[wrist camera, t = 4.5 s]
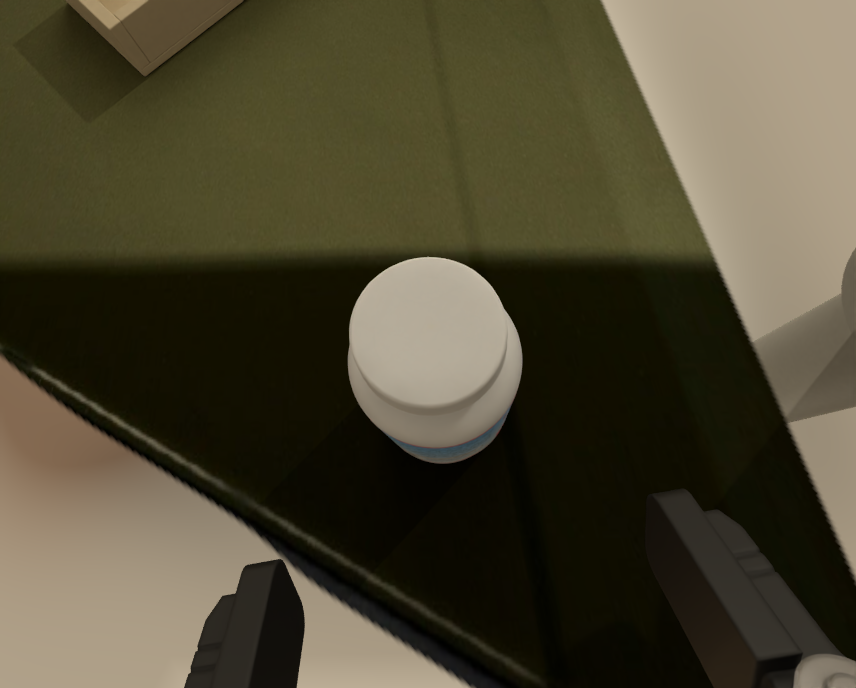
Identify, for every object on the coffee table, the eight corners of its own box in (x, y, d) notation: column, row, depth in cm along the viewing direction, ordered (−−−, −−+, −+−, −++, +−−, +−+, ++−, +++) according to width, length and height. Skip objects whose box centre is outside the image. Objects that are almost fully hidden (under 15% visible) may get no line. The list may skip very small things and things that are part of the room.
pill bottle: (527, 434, 25) (573, 385, 14) (407, 484, 25) (364, 471, 14) (476, 323, 27) (484, 205, 16) (364, 368, 27) (296, 278, 16)
